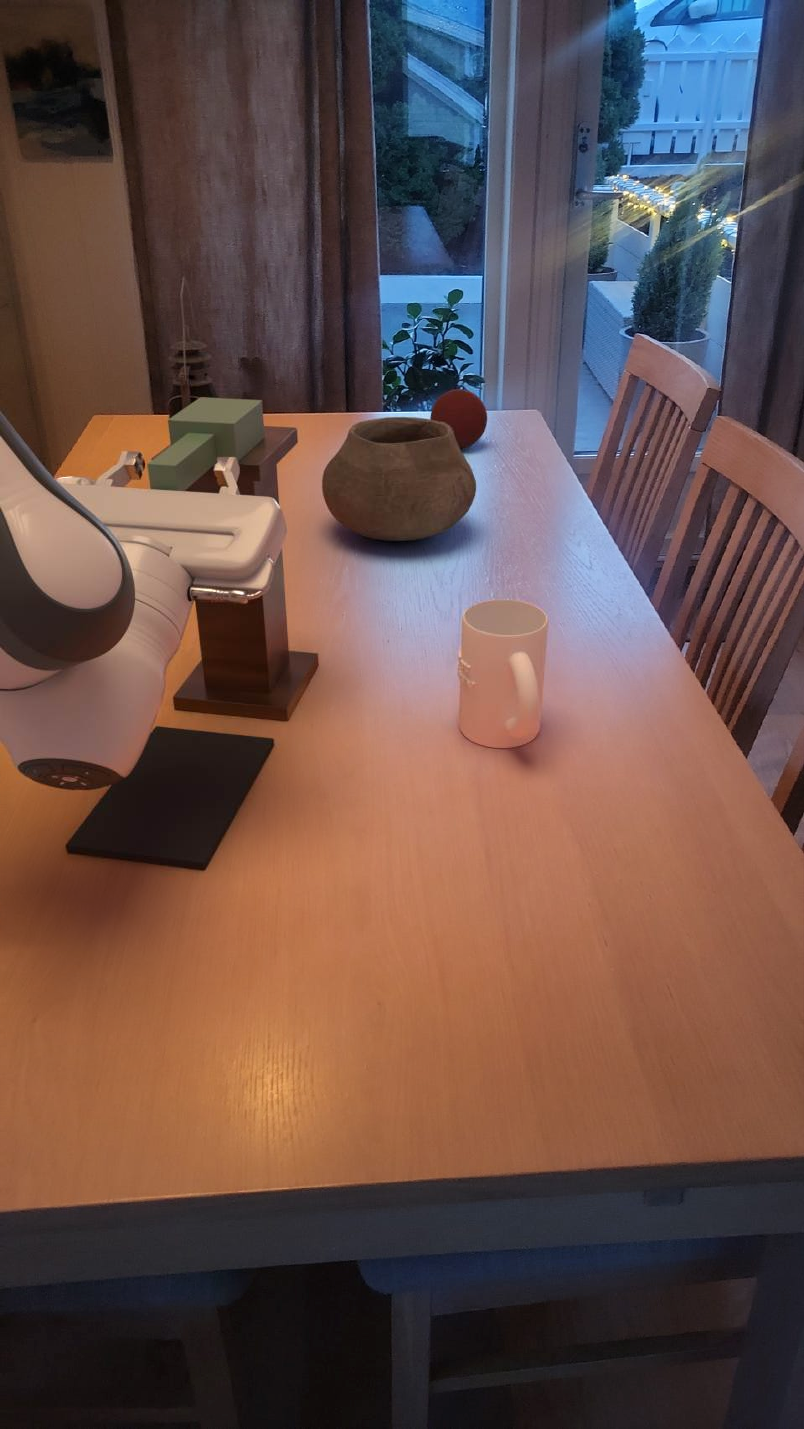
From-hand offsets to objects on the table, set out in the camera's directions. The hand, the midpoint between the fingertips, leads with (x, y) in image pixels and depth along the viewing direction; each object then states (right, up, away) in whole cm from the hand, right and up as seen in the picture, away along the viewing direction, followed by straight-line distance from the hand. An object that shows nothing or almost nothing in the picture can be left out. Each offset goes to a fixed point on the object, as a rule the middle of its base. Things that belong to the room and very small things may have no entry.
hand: (181, 459), depth 85 cm
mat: (-2, -28, +6) cm, 29 cm away
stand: (+2, -18, +23) cm, 30 cm away
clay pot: (+18, +5, +61) cm, 64 cm away
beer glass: (-20, -8, +41) cm, 47 cm away
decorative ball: (+28, +26, +97) cm, 105 cm away
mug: (+28, -24, +15) cm, 40 cm away
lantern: (-15, +20, +87) cm, 90 cm away
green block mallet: (+1, +1, +4) cm, 4 cm away
